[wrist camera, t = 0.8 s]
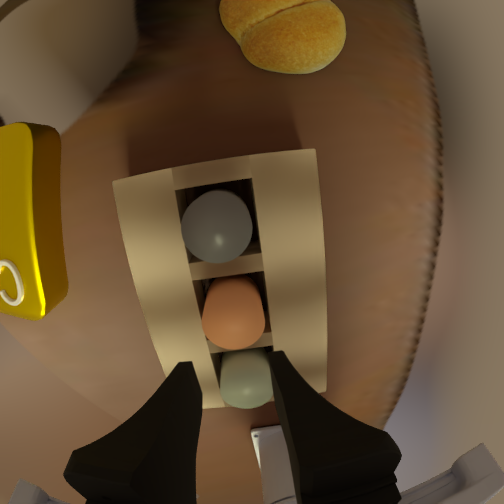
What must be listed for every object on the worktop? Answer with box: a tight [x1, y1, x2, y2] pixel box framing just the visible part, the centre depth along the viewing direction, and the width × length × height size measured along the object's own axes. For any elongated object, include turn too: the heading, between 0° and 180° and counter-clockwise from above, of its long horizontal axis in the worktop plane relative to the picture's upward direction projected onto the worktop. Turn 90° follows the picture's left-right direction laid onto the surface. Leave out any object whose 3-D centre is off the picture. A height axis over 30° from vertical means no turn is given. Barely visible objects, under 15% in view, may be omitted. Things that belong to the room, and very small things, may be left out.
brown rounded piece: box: [202, 274, 265, 350], centre depth 17 cm, size 4×4×4 cm
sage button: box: [220, 347, 273, 409], centre depth 19 cm, size 4×4×4 cm
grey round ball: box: [181, 189, 252, 263], centre depth 16 cm, size 4×4×4 cm
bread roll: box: [219, 0, 346, 74], centre depth 14 cm, size 8×9×4 cm
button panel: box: [112, 149, 327, 408], centre depth 19 cm, size 18×12×3 cm, turn 7°
